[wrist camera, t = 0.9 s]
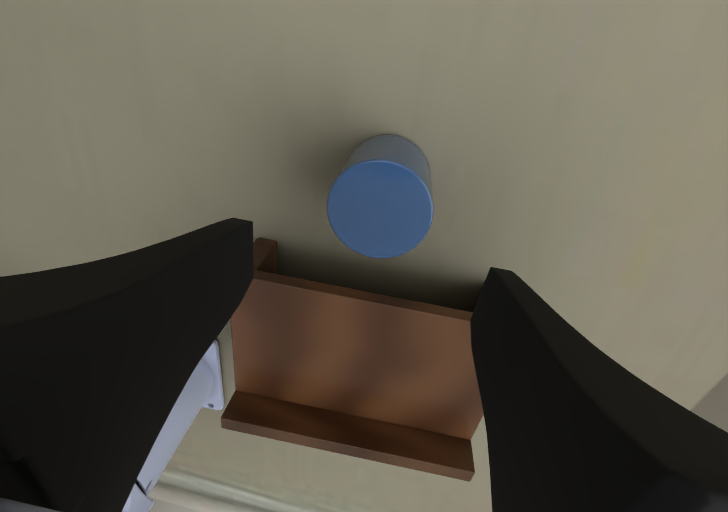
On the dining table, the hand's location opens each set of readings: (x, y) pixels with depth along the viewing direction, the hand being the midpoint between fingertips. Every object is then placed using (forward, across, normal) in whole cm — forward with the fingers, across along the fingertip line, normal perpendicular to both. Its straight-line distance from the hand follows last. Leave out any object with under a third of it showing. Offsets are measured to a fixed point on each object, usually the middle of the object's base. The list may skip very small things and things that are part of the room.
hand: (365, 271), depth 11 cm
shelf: (+9, 0, +10) cm, 14 cm away
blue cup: (+9, 0, 0) cm, 9 cm away
